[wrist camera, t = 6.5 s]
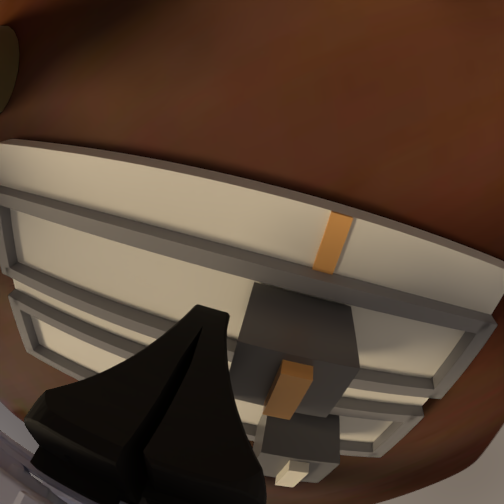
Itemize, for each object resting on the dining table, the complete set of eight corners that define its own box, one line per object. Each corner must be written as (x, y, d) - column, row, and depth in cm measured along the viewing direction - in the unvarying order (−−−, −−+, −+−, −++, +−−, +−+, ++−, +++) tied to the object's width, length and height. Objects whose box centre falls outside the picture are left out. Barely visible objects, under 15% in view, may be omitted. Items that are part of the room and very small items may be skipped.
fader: (319, 436, 17) (316, 491, 13) (257, 425, 17) (246, 481, 13) (339, 411, 15) (339, 473, 12) (269, 398, 15) (259, 462, 12)
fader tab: (325, 357, 13) (326, 430, 10) (239, 336, 14) (219, 408, 10) (351, 306, 12) (362, 382, 9) (254, 281, 12) (233, 354, 9)
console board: (369, 443, 19) (371, 465, 17) (44, 347, 20) (31, 363, 18) (503, 260, 11) (523, 282, 10) (12, 138, 12) (-14, 146, 11)
